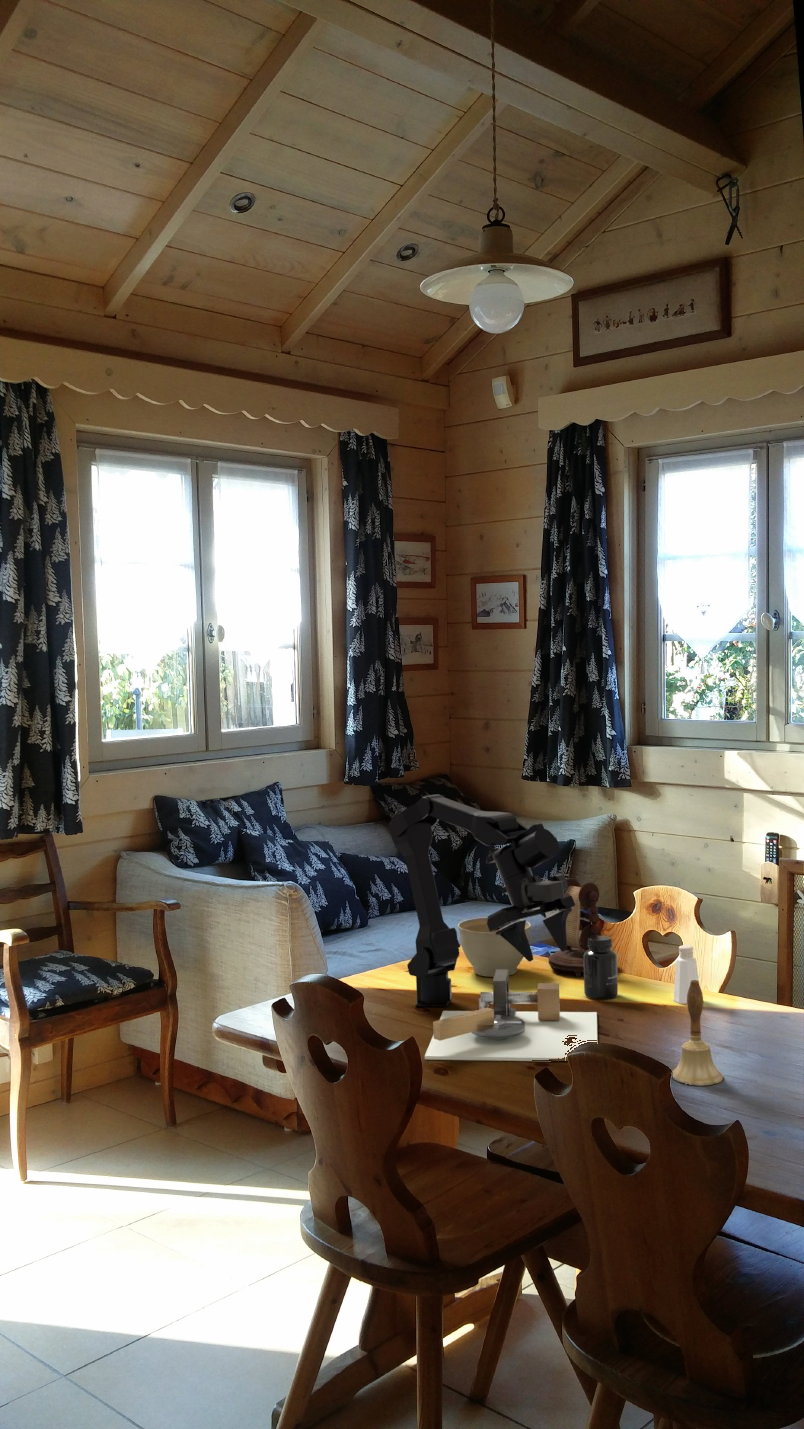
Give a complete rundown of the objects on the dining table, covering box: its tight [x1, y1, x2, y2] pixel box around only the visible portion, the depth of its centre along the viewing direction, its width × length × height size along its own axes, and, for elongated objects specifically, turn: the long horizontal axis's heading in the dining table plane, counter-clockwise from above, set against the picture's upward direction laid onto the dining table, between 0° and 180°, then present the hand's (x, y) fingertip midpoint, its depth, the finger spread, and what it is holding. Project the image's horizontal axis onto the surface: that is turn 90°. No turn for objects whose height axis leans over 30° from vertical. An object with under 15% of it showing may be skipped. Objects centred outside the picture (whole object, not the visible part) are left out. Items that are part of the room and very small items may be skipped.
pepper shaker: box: [673, 944, 700, 1005], centre depth 238 cm, size 5×5×11 cm
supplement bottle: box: [583, 935, 619, 1001], centre depth 244 cm, size 7×7×12 cm
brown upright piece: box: [548, 877, 602, 978], centre depth 265 cm, size 15×15×20 cm
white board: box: [424, 1010, 598, 1062], centre depth 220 cm, size 30×27×2 cm
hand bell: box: [672, 980, 724, 1087], centre depth 195 cm, size 8×8×16 cm
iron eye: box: [492, 969, 516, 1016], centre depth 229 cm, size 4×10×8 cm, turn 171°
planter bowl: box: [457, 916, 532, 978], centre depth 265 cm, size 16×16×11 cm
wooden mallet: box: [478, 982, 561, 1020], centre depth 229 cm, size 15×4×6 cm, turn 81°
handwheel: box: [432, 1007, 525, 1041], centre depth 215 cm, size 16×16×4 cm
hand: (548, 955), depth 219 cm, fingers open, 9 cm apart
